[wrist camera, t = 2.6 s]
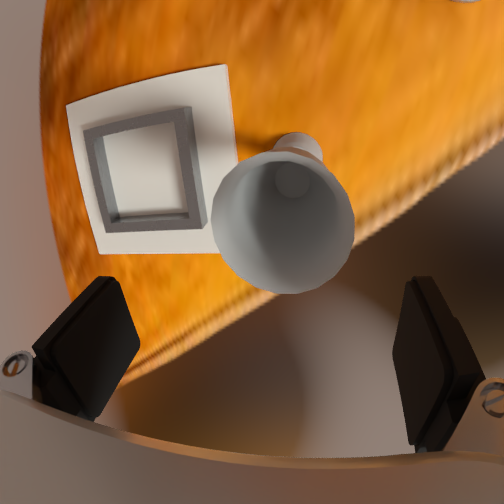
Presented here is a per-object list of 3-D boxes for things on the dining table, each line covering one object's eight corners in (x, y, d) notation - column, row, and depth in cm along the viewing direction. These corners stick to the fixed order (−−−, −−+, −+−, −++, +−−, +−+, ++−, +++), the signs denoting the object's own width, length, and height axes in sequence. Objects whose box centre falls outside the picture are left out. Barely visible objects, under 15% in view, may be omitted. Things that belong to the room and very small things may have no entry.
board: (227, 65, 27) (224, 64, 26) (247, 248, 36) (246, 252, 35) (71, 104, 31) (65, 105, 30) (103, 250, 40) (99, 254, 39)
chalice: (254, 129, 30) (191, 170, 14) (322, 115, 28) (340, 137, 12) (272, 197, 33) (235, 301, 17) (337, 186, 31) (362, 284, 15)
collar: (191, 106, 29) (184, 107, 27) (208, 221, 34) (202, 229, 33) (93, 127, 31) (82, 130, 30) (114, 226, 37) (105, 233, 35)
